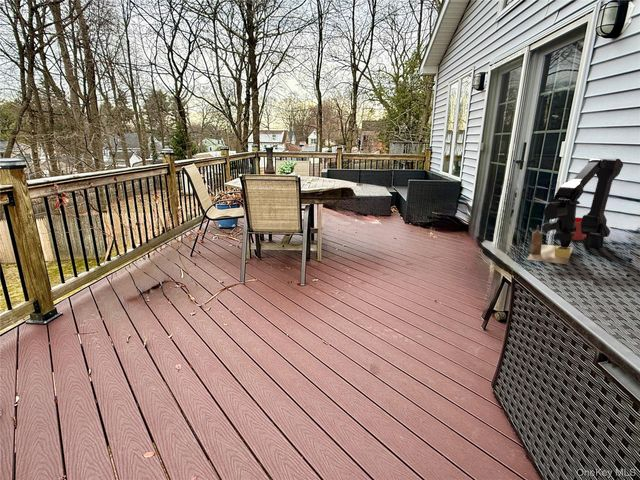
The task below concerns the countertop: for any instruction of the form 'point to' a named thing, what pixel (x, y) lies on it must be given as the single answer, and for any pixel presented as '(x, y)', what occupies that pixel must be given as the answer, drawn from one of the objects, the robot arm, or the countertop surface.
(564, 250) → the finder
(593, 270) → the countertop surface
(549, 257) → the panel
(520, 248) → the countertop surface
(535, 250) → the awl
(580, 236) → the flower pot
